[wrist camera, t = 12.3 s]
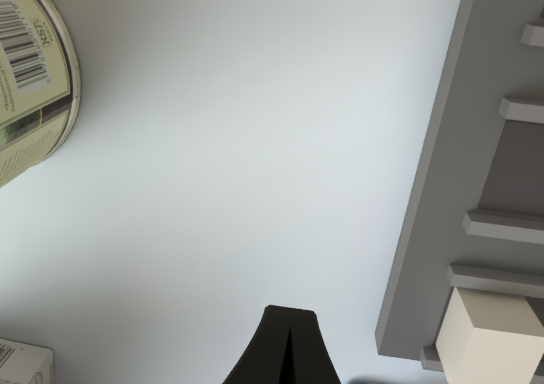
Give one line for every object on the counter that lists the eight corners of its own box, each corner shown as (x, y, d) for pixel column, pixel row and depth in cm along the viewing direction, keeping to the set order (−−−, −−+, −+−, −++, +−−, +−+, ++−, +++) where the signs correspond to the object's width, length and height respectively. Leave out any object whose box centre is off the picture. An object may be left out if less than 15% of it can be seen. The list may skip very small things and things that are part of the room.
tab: (435, 344, 23) (450, 390, 20) (455, 285, 21) (473, 327, 19) (498, 353, 23) (521, 401, 20) (522, 294, 21) (550, 338, 19)
